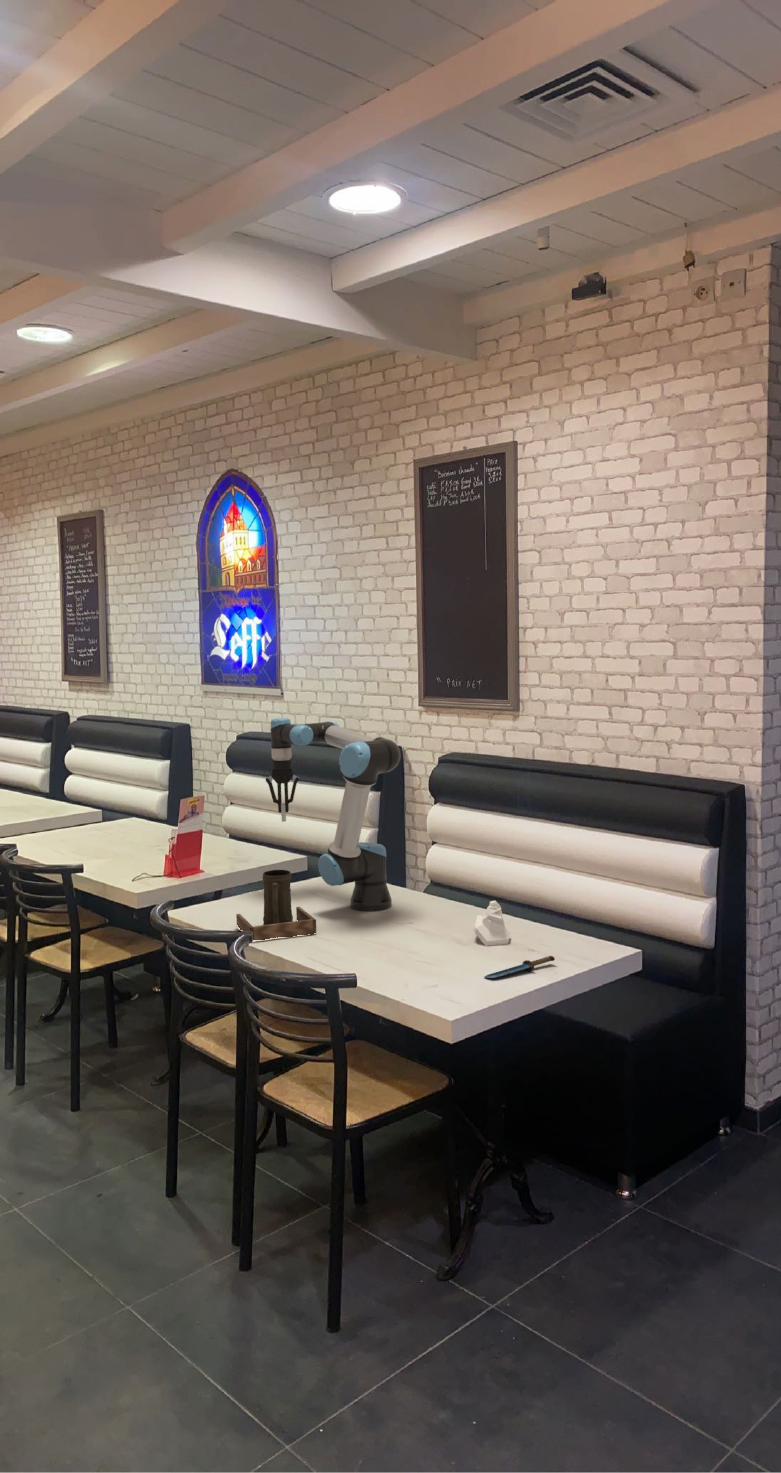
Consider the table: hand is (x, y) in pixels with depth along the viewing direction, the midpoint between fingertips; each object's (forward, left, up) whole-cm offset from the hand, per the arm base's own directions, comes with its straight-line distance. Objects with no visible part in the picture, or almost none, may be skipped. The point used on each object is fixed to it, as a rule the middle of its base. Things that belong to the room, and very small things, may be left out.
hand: (283, 820), depth 393 cm
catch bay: (0, +48, -29) cm, 56 cm away
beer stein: (0, +46, -29) cm, 54 cm away
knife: (-74, +97, -29) cm, 126 cm away
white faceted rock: (-70, +64, -29) cm, 99 cm away
